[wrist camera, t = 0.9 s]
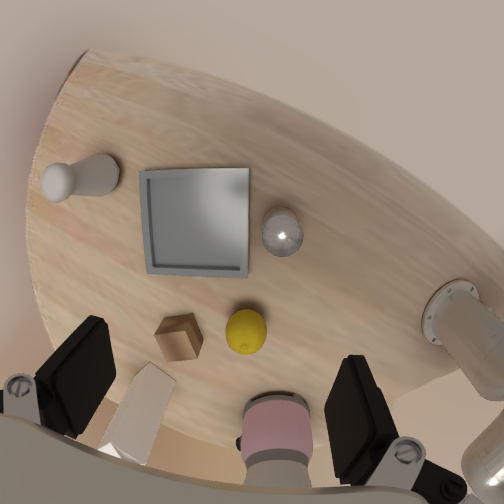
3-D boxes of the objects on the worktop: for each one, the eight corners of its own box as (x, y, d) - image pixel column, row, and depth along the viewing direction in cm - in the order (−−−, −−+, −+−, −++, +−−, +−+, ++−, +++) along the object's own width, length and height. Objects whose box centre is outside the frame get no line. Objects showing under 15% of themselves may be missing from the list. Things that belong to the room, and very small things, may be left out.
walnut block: (193, 312, 42) (185, 330, 38) (203, 339, 44) (197, 358, 39) (164, 317, 43) (153, 335, 38) (175, 343, 44) (167, 362, 40)
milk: (176, 380, 47) (142, 482, 26) (159, 393, 49) (124, 486, 28) (149, 360, 46) (102, 459, 25) (134, 375, 48) (88, 465, 27)
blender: (302, 383, 46) (319, 559, 16) (315, 421, 49) (331, 565, 19) (217, 399, 48) (187, 559, 18) (240, 435, 52) (226, 570, 21)
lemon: (226, 301, 41) (218, 332, 34) (264, 297, 41) (264, 328, 33) (232, 333, 43) (226, 366, 36) (268, 330, 43) (268, 363, 35)
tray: (249, 167, 35) (248, 168, 34) (248, 272, 40) (247, 278, 38) (145, 170, 36) (139, 171, 34) (151, 268, 40) (146, 273, 38)
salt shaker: (131, 181, 37) (77, 195, 24) (102, 200, 37) (45, 220, 25) (115, 145, 35) (57, 146, 23) (87, 166, 36) (27, 174, 24)
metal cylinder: (297, 206, 37) (304, 217, 30) (295, 239, 38) (302, 257, 31) (263, 205, 37) (262, 216, 30) (262, 238, 38) (261, 256, 32)
